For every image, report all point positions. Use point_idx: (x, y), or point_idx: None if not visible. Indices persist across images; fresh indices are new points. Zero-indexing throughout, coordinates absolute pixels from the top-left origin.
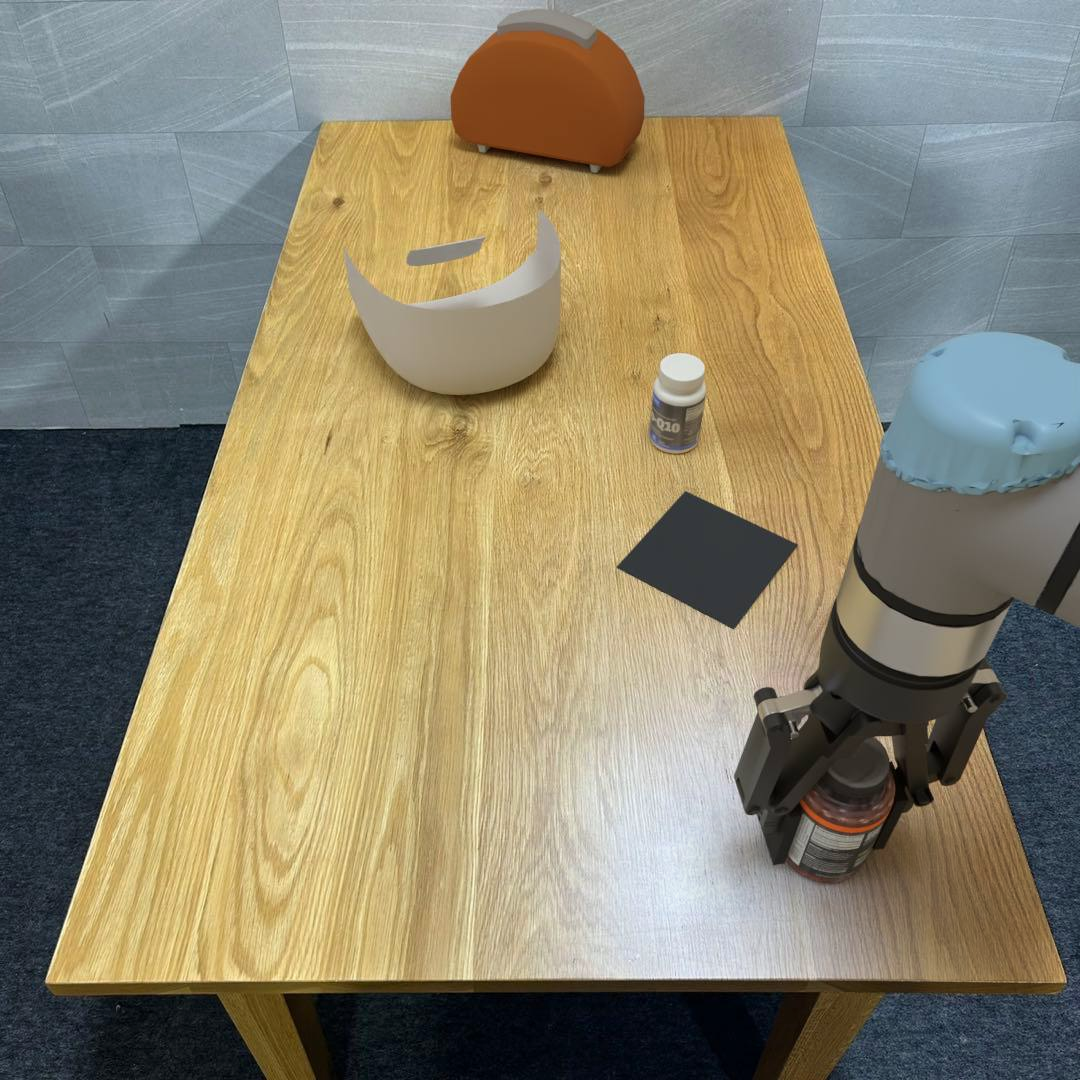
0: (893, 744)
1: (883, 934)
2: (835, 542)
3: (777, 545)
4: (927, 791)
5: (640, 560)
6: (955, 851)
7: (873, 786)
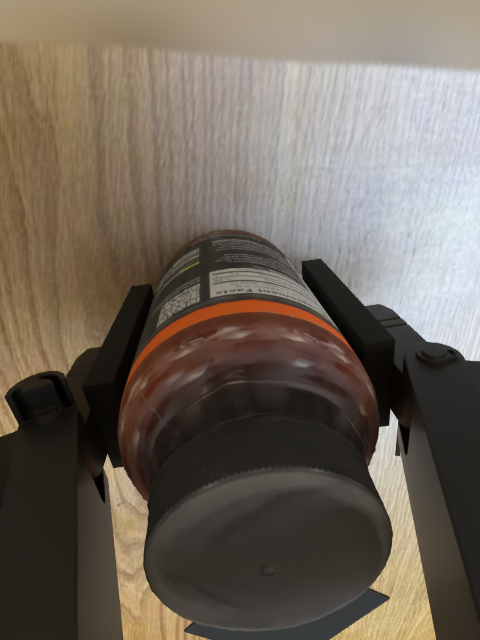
0: (113, 558)
1: (149, 136)
2: (140, 635)
3: (207, 629)
4: (26, 412)
5: (362, 605)
6: (10, 284)
7: (228, 475)
